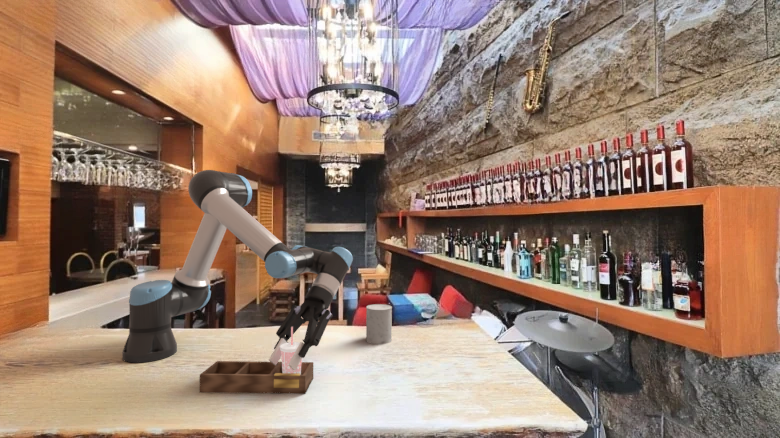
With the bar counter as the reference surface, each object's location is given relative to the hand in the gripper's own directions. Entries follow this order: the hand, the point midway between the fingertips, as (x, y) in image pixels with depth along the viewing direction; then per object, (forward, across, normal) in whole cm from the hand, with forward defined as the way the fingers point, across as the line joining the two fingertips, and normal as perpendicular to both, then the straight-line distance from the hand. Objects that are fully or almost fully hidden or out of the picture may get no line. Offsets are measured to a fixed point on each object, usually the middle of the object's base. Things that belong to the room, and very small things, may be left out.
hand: (281, 365), depth 100 cm
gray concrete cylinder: (-30, 0, -40) cm, 50 cm away
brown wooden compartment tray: (+5, +8, -4) cm, 10 cm away
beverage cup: (+1, 0, -6) cm, 6 cm away
